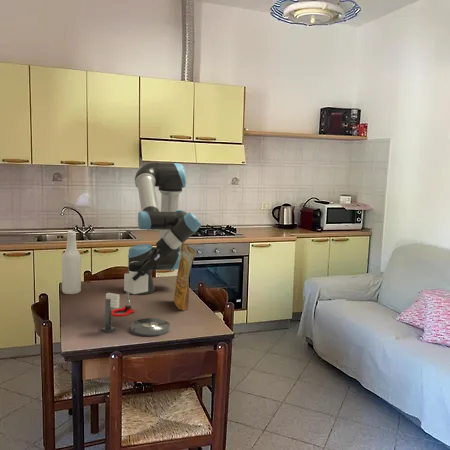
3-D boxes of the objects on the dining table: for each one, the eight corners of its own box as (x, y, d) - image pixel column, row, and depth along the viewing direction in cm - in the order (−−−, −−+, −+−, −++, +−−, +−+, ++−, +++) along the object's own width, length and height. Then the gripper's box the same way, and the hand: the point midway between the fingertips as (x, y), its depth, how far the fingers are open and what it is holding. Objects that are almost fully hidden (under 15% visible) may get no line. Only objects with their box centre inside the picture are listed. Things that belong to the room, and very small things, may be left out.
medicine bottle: (148, 291, 190) (149, 262, 188) (133, 294, 185) (134, 264, 183) (138, 287, 195) (138, 259, 193) (123, 290, 190) (124, 261, 188)
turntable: (144, 320, 192) (144, 316, 191) (176, 326, 186) (176, 322, 186) (122, 332, 178) (122, 326, 178) (156, 339, 172) (156, 333, 172)
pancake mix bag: (185, 299, 224) (187, 241, 221) (194, 311, 206) (196, 249, 203) (171, 299, 223) (173, 242, 219) (179, 312, 204) (181, 249, 201)
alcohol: (79, 294, 225) (79, 232, 221) (60, 294, 224) (60, 232, 220) (82, 289, 233) (82, 230, 230) (63, 289, 232) (63, 229, 228)
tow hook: (119, 319, 194) (136, 313, 201) (118, 289, 192) (135, 284, 199) (106, 314, 199) (123, 309, 206) (105, 285, 197) (122, 280, 204)
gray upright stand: (107, 328, 181) (107, 291, 179) (120, 330, 179) (120, 294, 177) (100, 331, 177) (100, 294, 176) (113, 334, 175) (114, 296, 173)
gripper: (175, 255, 179) (133, 295, 179) (174, 245, 201) (136, 281, 201) (162, 241, 177) (119, 281, 177) (162, 233, 199) (124, 269, 199)
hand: (128, 281), depth 189 cm, fingers closed on medicine bottle, 10 cm apart
